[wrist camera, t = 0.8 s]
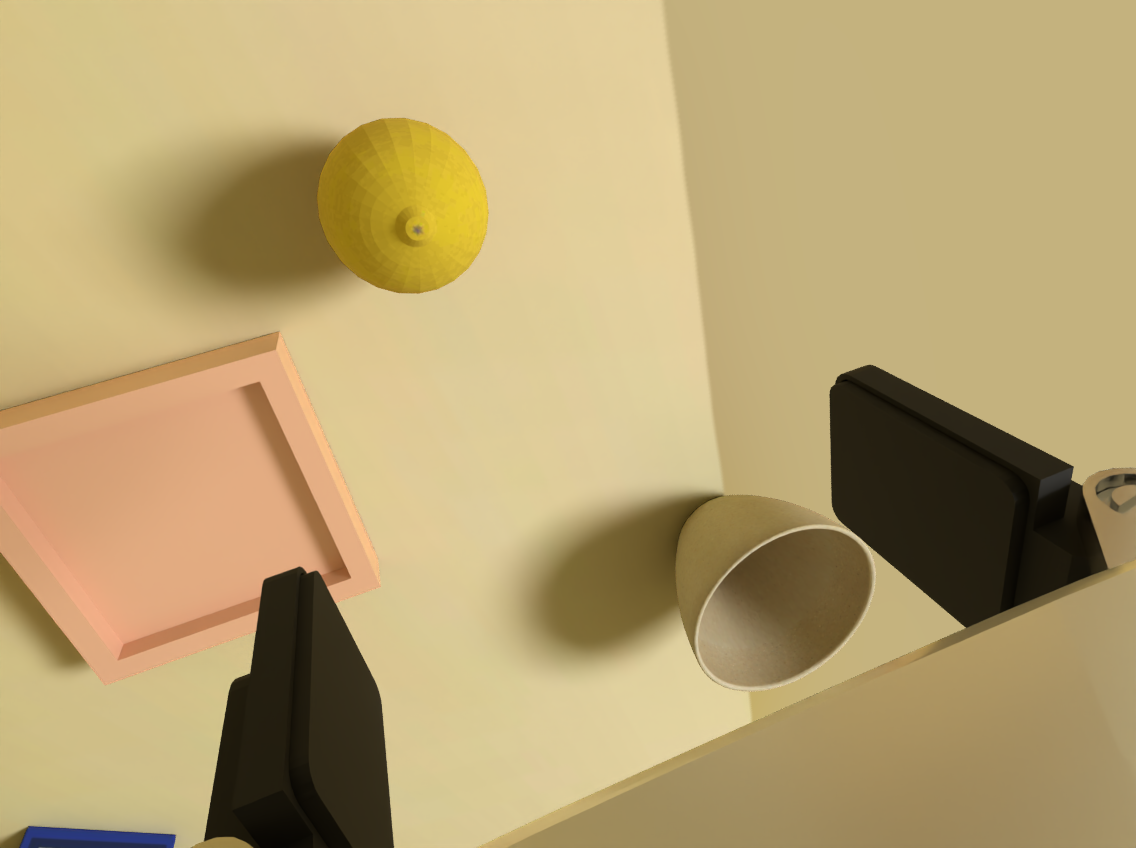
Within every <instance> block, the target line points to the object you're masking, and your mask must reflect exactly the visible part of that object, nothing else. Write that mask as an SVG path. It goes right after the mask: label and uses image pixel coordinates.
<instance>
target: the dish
mask: <svg viewBox="0 0 1136 848" xmlns="http://www.w3.org/2000/svg"><path fill="white" fill-rule="evenodd" d="M0 552H1V553H2V555H3V556H4V557H5V559H6V560H7V561H8V562H9V564H10V565H11V566H12V567H13V569H14V570H15V571H16V573H17V574H18V575H19V576H20V578H21V579H22V580H23V582H24V583H25V584H26V585H27V587H28V588H29V589H30V590H31V592H32V593H33V594H34V596H35V597H36V598H37V599H38V601H39V602H40V603H41V604H42V606H43V607H44V608H45V610H46V611H47V612H48V613H49V615H50V616H51V617H52V619H53V620H54V621H55V622H56V624H57V625H58V626H59V627H60V629H61V630H62V631H63V633H64V634H65V635H66V636H67V638H68V639H69V640H70V642H71V643H72V644H73V645H74V647H75V648H76V649H77V650H78V652H79V653H80V654H81V656H82V657H83V658H84V659H85V661H86V662H87V663H88V665H89V666H90V667H91V668H92V670H93V671H94V672H95V673H96V675H97V676H98V677H99V679H100V680H101V681H102V682H103V684H104V685H108V684H110V683H113V682H116V681H119V680H122V679H124V678H127V677H130V676H133V675H136V674H138V673H141V672H144V671H147V670H150V669H152V668H155V667H158V666H161V665H163V664H166V663H169V662H172V661H175V660H177V659H180V658H183V657H186V656H189V655H191V654H194V653H197V652H200V651H203V650H205V649H208V648H211V647H214V646H217V645H219V644H222V643H225V642H228V641H231V640H233V639H236V638H239V637H242V636H245V635H247V634H250V633H253V632H256V628H257V621H258V613H259V606H260V598H261V591H262V584H263V581H264V580H265V579H266V578H268V577H271V576H274V575H277V574H280V573H283V572H285V571H288V570H291V569H294V568H297V567H299V566H300V567H303V569H304V570H305V571H306V572H307V573H310V572H312V571H315V570H316V571H318V572H319V573H320V575H321V576H322V578H323V580H324V582H325V584H326V586H327V588H328V590H329V592H330V594H331V596H332V598H333V600H334V602H335V603H337V602H340V601H342V600H345V599H348V598H351V597H354V596H356V595H359V594H362V593H365V592H368V591H370V590H373V589H376V588H379V587H381V584H380V575H379V565H378V558H377V555H376V553H375V551H374V549H373V546H372V544H371V542H370V539H369V537H368V535H367V532H366V530H365V528H364V525H363V523H362V521H361V518H360V516H359V514H358V512H357V509H356V507H355V505H354V502H353V500H352V498H351V495H350V493H349V491H348V488H347V486H346V484H345V481H344V479H343V477H342V475H341V472H340V470H339V468H338V465H337V463H336V461H335V458H334V456H333V454H332V451H331V449H330V447H329V444H328V442H327V440H326V438H325V435H324V433H323V431H322V428H321V426H320V424H319V421H318V419H317V417H316V414H315V412H314V410H313V407H312V405H311V403H310V401H309V398H308V396H307V394H306V391H305V389H304V387H303V384H302V382H301V380H300V377H299V375H298V373H297V370H296V368H295V366H294V364H293V361H292V359H291V357H290V354H289V352H288V350H287V347H286V345H285V343H284V340H283V338H282V336H281V333H280V332H276V333H273V334H269V335H266V336H262V337H259V338H255V339H252V340H248V341H245V342H241V343H238V344H234V345H231V346H227V347H224V348H220V349H217V350H213V351H210V352H206V353H202V354H199V355H195V356H192V357H188V358H185V359H181V360H178V361H174V362H171V363H167V364H164V365H160V366H157V367H153V368H150V369H146V370H143V371H139V372H136V373H132V374H129V375H125V376H121V377H118V378H114V379H111V380H107V381H104V382H100V383H97V384H93V385H90V386H86V387H83V388H79V389H76V390H72V391H69V392H65V393H62V394H58V395H55V396H51V397H48V398H44V399H41V400H37V401H33V402H30V403H26V404H23V405H19V406H16V407H12V408H9V409H5V410H2V411H0Z"/></svg>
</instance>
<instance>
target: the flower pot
mask: <svg viewBox="0 0 1136 848" xmlns="http://www.w3.org/2000/svg"><path fill="white" fill-rule="evenodd" d="M875 572H876V571H875V564H874V560H873V557H872V554H871V552H870V550H869V548H868V547H867V545H866V544H865V543H864V542H863V541H862V540H861V539H860V538H859V537H858V536H857V535H855V534H854V533H852V532H851V531H849V530H848V529H846V528H844V527H843V526H841V525H840V524H838V523H836V522H834V521H832V520H831V519H829V518H826V517H825V516H823V515H821V514H818V513H816V512H814V511H812V510H809V509H807V508H804V507H801V506H799V505H796V504H793V503H789V502H786V501H782V500H778V499H773V498H767V497H761V496H753V495H729V496H722V497H718V498H715V499H712V500H710V501H708V502H706V503H704V504H703V505H701V506H700V507H699V508H698V509H696V510H695V511H694V512H693V513H692V514H691V516H690V517H689V518H688V519H687V521H686V522H685V524H684V526H683V528H682V530H681V533H680V536H679V540H678V546H677V552H676V566H675V574H676V590H677V597H678V603H679V609H680V613H681V618H682V621H683V624H684V628H685V631H686V634H687V637H688V640H689V642H690V645H691V647H692V650H693V652H694V654H695V656H696V659H697V661H698V663H699V665H700V667H701V668H702V670H703V671H704V673H705V674H706V675H707V676H708V677H709V678H710V679H712V680H713V681H714V682H716V683H717V684H719V685H721V686H723V687H726V688H729V689H733V690H738V691H762V690H768V689H773V688H776V687H780V686H783V685H786V684H789V683H792V682H794V681H796V680H798V679H801V678H802V677H804V676H806V675H808V674H809V673H811V672H812V671H814V670H816V669H818V668H819V667H820V666H821V665H823V664H824V663H825V662H827V661H828V660H829V659H830V658H831V657H832V656H834V655H835V654H836V653H837V652H838V651H839V650H840V649H841V648H842V647H843V646H844V645H845V643H847V642H848V640H849V639H850V638H851V637H852V635H853V634H854V633H855V631H856V630H857V628H858V627H859V625H860V624H861V622H862V621H863V619H864V617H865V615H866V613H867V611H868V608H869V606H870V603H871V600H872V597H873V593H874V589H875V581H876V573H875Z"/></svg>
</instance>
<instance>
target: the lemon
mask: <svg viewBox="0 0 1136 848" xmlns="http://www.w3.org/2000/svg"><path fill="white" fill-rule="evenodd" d="M317 202H318V211H319V220H320V223H321V225H322V228H323V231H324V233H325V236H326V239H327V241H328V243H329V244H330V246H331V247H332V249H333V250H334V252H335V253H336V255H337V256H338V258H339V259H340V260H341V262H342V263H343V264H345V265H346V266H347V267H348V268H349V269H350V270H351V271H352V272H353V273H354V274H356V275H357V276H358V277H359V278H361V279H363V280H365V281H367V282H369V283H370V284H372V285H374V286H376V287H378V288H381V289H385V290H389V291H393V292H397V293H423V292H427V291H432V290H436V289H439V288H441V287H443V286H445V285H447V284H448V283H450V282H452V281H454V280H455V279H456V278H458V277H459V276H460V275H461V274H462V273H463V272H465V271H466V270H467V269H468V268H469V266H470V265H471V264H472V262H473V261H474V259H475V258H476V256H477V255H478V253H479V252H480V249H481V246H482V244H483V241H484V238H485V235H486V231H487V222H488V204H487V196H486V190H485V187H484V184H483V182H482V179H481V177H480V174H479V171H478V169H477V167H476V166H475V164H474V163H473V162H472V160H471V159H470V157H469V156H468V154H467V153H466V151H465V150H464V149H463V148H462V147H461V146H460V145H458V144H457V143H456V142H455V141H454V140H453V139H452V138H451V137H450V136H449V135H447V134H446V133H444V132H442V131H440V130H438V129H437V128H435V127H433V126H431V125H429V124H427V123H423V122H419V121H415V120H410V119H406V118H388V119H379V120H376V121H373V122H370V123H367V124H364V125H361V126H359V127H358V128H356V129H355V130H353V131H352V132H351V133H349V134H348V135H346V136H345V137H343V138H342V140H341V141H340V142H339V143H338V144H337V145H336V147H335V148H334V149H333V150H332V151H331V153H330V154H329V156H328V158H327V160H326V163H325V165H324V167H323V169H322V172H321V174H320V179H319V186H318V193H317Z"/></svg>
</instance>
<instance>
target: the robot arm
mask: <svg viewBox="0 0 1136 848" xmlns="http://www.w3.org/2000/svg"><path fill="white" fill-rule="evenodd" d="M830 438H831V486H832V487H831V488H832V507H833V510H834V512H835V515H836V516H837V518H838V519H839V520H840V521H841V522H842V523H843V524H844V525H845V526H846V527H847V528H849V529H850V530H851V531H852V532H853V533H854V534H856V535H857V536H858V537H859V538H860V539H862V540H863V541H864V542H865V543H866V544H867V545H869V546H870V547H871V548H872V549H873V550H875V551H876V552H877V553H878V554H879V555H881V556H882V557H883V558H884V559H885V560H886V561H888V562H889V563H890V564H891V565H892V566H894V567H895V568H896V569H897V570H898V571H900V572H901V573H902V574H903V575H904V576H905V577H907V578H908V579H909V580H910V581H911V582H913V583H914V584H915V585H916V586H917V587H919V588H920V589H921V590H922V591H923V592H924V593H926V594H927V595H928V596H929V597H930V598H931V599H933V600H934V601H935V602H936V603H937V604H939V605H940V606H941V607H942V608H943V609H944V610H946V611H947V612H948V613H949V614H950V615H952V616H953V617H954V618H955V619H956V620H957V621H959V622H960V623H961V624H962V625H964V626H965V627H966V628H965V629H963V630H961V631H958V632H956V633H954V634H952V635H950V636H947V637H945V638H942V639H940V640H938V641H935V642H933V643H931V644H929V645H926V646H924V647H922V648H919V649H917V650H915V651H912V652H910V653H908V654H906V655H903V656H901V657H899V658H896V659H894V660H892V661H890V662H888V663H885V664H883V665H880V666H878V667H876V668H874V669H872V670H869V671H867V672H865V673H862V674H860V675H858V676H856V677H853V678H851V679H849V680H847V681H844V682H842V683H840V684H838V685H835V686H833V687H831V688H828V689H826V690H824V691H822V692H820V693H817V694H815V695H813V696H810V697H808V698H806V699H804V700H801V701H799V702H797V703H794V704H792V705H790V706H788V707H785V708H783V709H781V710H779V711H776V712H774V713H772V714H770V715H768V716H765V717H763V718H761V719H758V720H756V721H754V722H752V723H749V724H747V725H745V726H743V727H740V728H738V729H736V730H734V731H731V732H729V733H727V734H725V735H722V736H720V737H718V738H716V739H713V740H711V741H709V742H707V743H705V744H702V745H700V746H698V747H696V748H693V749H691V750H689V751H687V752H685V753H682V754H680V755H678V756H676V757H673V758H671V759H669V760H667V761H665V762H662V763H660V764H658V765H656V766H653V767H651V768H649V769H647V770H645V771H642V772H640V773H638V774H636V775H633V776H631V777H629V778H627V779H625V780H622V781H620V782H618V783H616V784H613V785H611V786H609V787H607V788H605V789H602V790H600V791H598V792H596V793H593V794H591V795H589V796H587V797H585V798H582V799H580V800H578V801H576V802H573V803H571V804H569V805H567V806H565V807H562V808H560V809H558V810H556V811H554V812H552V813H549V814H547V815H545V816H543V817H541V818H539V819H537V820H535V821H532V822H530V823H528V824H526V825H524V826H522V827H520V828H517V829H515V830H513V831H511V832H509V833H507V834H505V835H503V836H500V837H498V838H496V839H494V840H492V841H490V842H488V843H486V844H483V845H481V846H479V847H477V848H1136V468H1112V469H1108V470H1103V471H1099V472H1097V473H1095V474H1093V475H1091V476H1089V477H1088V478H1087V479H1086V481H1085V482H1084V483H1083V485H1080V484H1078V483H1076V482H1074V481H1072V480H1071V478H1072V473H1073V468H1074V467H1073V466H1071V465H1069V464H1067V463H1065V462H1063V461H1061V460H1060V459H1058V458H1056V457H1053V456H1052V455H1049V454H1048V453H1046V452H1044V451H1042V450H1040V449H1038V448H1036V447H1034V446H1032V445H1030V444H1028V443H1026V442H1024V441H1022V440H1020V439H1018V438H1016V437H1014V436H1012V435H1010V434H1008V433H1006V432H1004V431H1002V430H1000V429H998V428H996V427H994V426H992V425H990V424H988V423H986V422H984V421H982V420H981V419H979V418H977V417H974V416H973V415H970V414H969V413H967V412H965V411H963V410H961V409H959V408H957V407H955V406H953V405H951V404H949V403H947V402H945V401H943V400H941V399H939V398H937V397H935V396H933V395H931V394H929V393H927V392H925V391H923V390H921V389H919V388H917V387H915V386H913V385H911V384H909V383H907V382H905V381H903V380H901V379H899V378H897V377H895V376H893V375H892V374H889V373H888V372H886V371H884V370H882V369H880V368H878V367H876V366H873V365H867V366H863V367H860V368H857V369H855V370H852V371H849V372H846V373H844V374H841V375H840V376H838V377H837V380H836V383H835V385H834V386H833V387H831V390H830ZM191 848H394V844H393V832H392V820H391V808H390V797H389V785H388V773H387V761H386V750H385V738H384V726H383V714H382V704H381V698H380V694H379V691H378V688H377V685H376V683H375V680H374V678H373V676H372V674H371V672H370V671H369V669H368V667H367V665H366V663H365V661H364V659H363V657H362V655H361V653H360V651H359V649H358V647H357V645H356V643H355V641H354V639H353V637H352V635H351V633H350V631H349V629H348V627H347V625H346V623H345V621H344V619H343V617H342V616H341V614H340V612H339V610H338V608H337V606H336V604H335V602H334V600H333V598H332V596H331V594H330V592H329V590H328V588H327V586H326V584H325V582H324V580H323V578H322V576H321V575H320V573H319V572H318V571H316V570H315V571H312V572H310V573H307V572H306V571H305V570H304V569H303V567H300V566H299V567H297V568H294V569H291V570H288V571H285V572H283V573H280V574H277V575H274V576H271V577H268V578H266V579H265V580H264V581H263V584H262V591H261V598H260V606H259V613H258V621H257V628H256V635H255V643H254V650H253V658H252V665H251V672H250V674H247V675H245V676H242V677H239V678H237V679H235V680H234V681H233V682H232V684H231V687H230V690H229V694H228V700H227V706H226V712H225V718H224V724H223V730H222V736H221V742H220V748H219V754H218V760H217V766H216V772H215V778H214V784H213V790H212V796H211V802H210V808H209V814H208V820H207V826H206V832H205V838H204V842H201V843H198V844H196V845H195V846H193V847H191Z"/></svg>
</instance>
